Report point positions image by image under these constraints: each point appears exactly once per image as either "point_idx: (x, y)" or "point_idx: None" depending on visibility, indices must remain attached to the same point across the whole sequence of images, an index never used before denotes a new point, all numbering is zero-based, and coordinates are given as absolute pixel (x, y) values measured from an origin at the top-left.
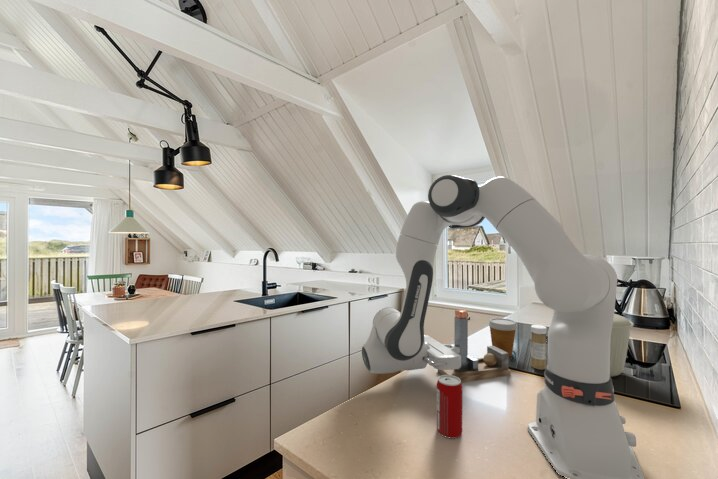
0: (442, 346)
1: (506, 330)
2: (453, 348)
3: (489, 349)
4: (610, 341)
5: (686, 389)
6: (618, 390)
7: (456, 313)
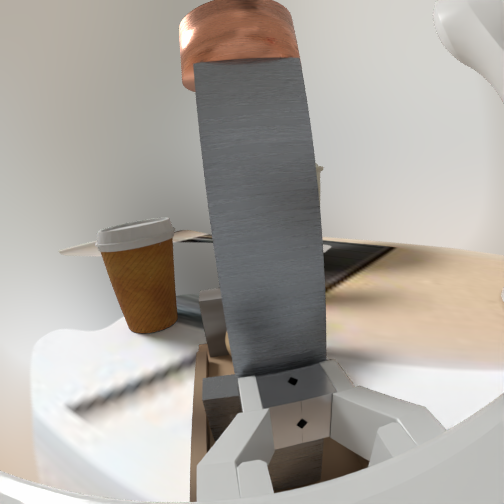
0: (473, 475)
1: (168, 239)
2: (384, 395)
3: (215, 307)
4: (319, 194)
5: (340, 239)
6: (357, 261)
7: (253, 9)
